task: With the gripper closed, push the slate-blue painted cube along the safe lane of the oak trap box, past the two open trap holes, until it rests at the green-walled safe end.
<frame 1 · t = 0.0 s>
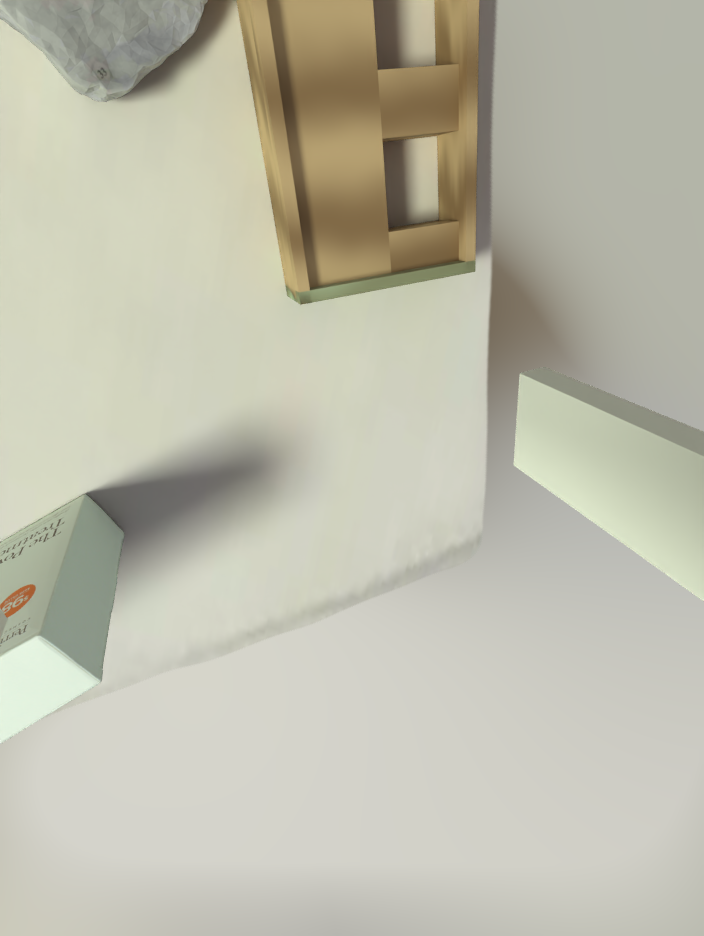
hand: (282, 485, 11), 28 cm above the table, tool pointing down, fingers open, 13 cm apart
trap box: (354, 90, 32), on the table
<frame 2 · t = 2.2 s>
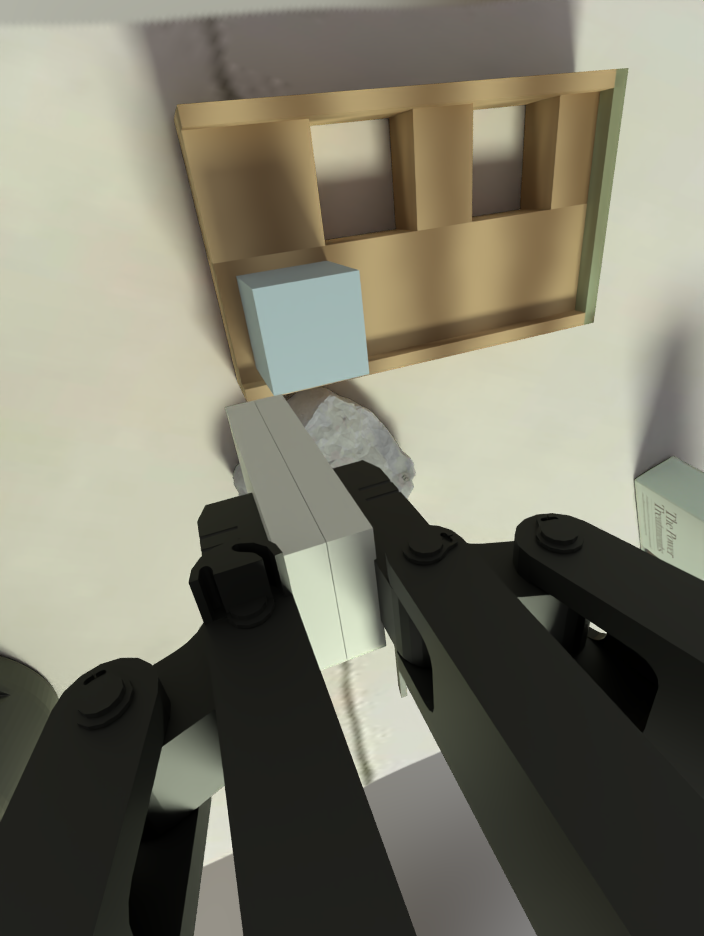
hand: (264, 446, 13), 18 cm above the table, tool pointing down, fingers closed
block: (290, 315, 27), point 3 cm above the table, touching trap box
skincare box: (653, 534, 55), on the table
stone block: (327, 460, 36), on the table
trap box: (403, 235, 30), on the table
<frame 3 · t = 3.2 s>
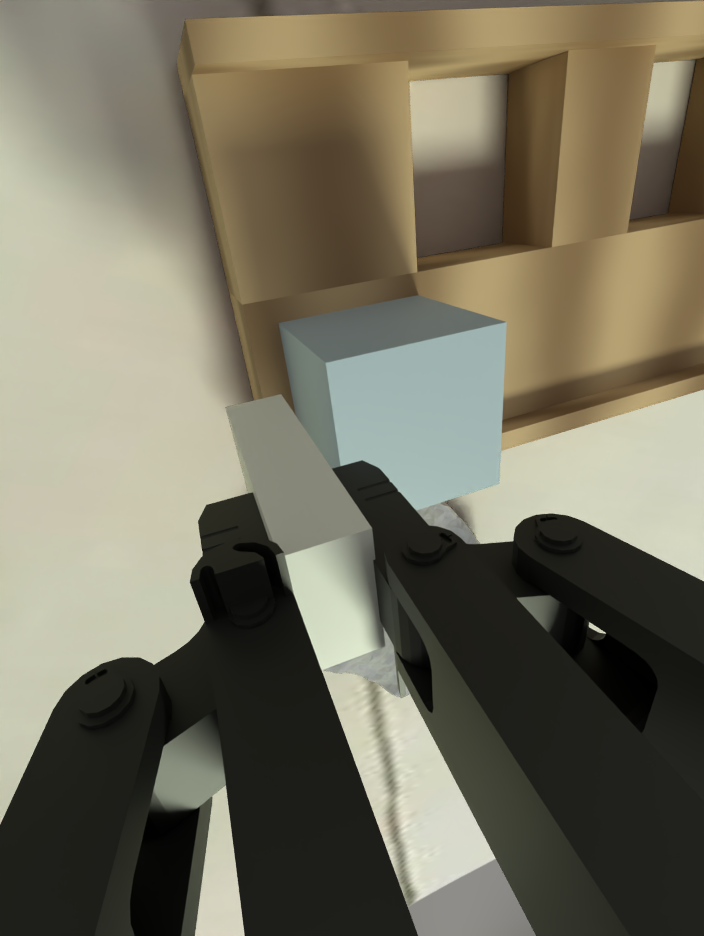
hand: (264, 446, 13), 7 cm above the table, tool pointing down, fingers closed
block: (358, 379, 17), point 3 cm above the table, touching trap box
stone block: (379, 562, 27), on the table
trap box: (511, 252, 21), on the table
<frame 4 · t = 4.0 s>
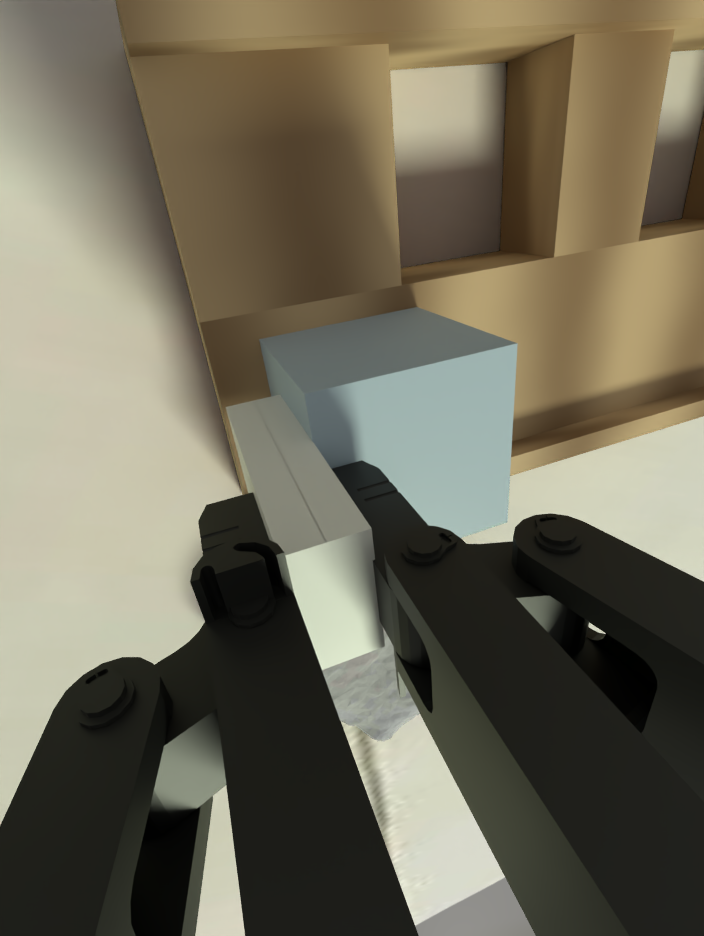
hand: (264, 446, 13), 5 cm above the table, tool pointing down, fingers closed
block: (351, 400, 16), point 3 cm above the table, touching gripper
stone block: (361, 596, 25), on the table
trap box: (510, 261, 19), on the table
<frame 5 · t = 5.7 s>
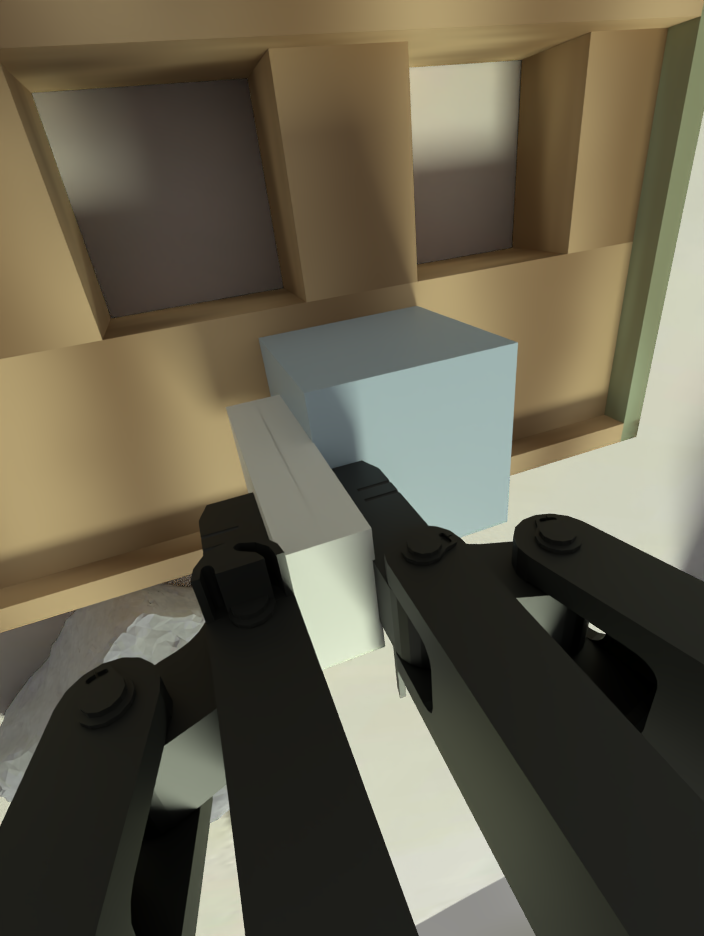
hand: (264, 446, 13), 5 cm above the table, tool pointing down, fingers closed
block: (350, 399, 16), point 3 cm above the table, touching gripper
stone block: (183, 666, 23), on the table
trap box: (299, 299, 17), on the table
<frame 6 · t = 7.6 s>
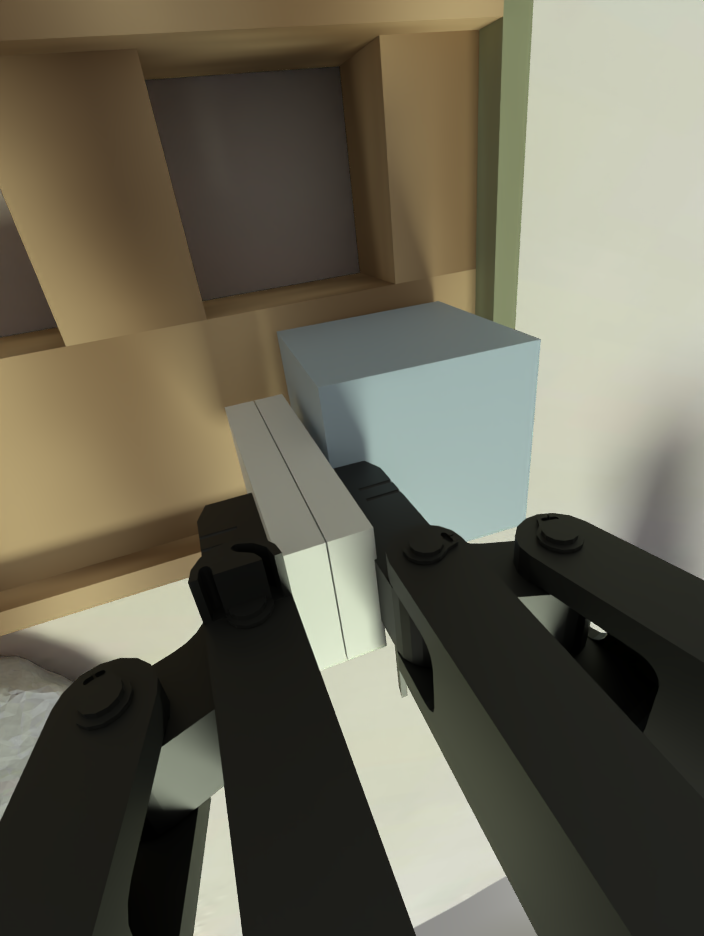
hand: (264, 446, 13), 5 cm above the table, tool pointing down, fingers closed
block: (368, 395, 15), point 3 cm above the table, touching gripper, trap box
stone block: (26, 733, 21), on the table
trap box: (104, 334, 15), on the table
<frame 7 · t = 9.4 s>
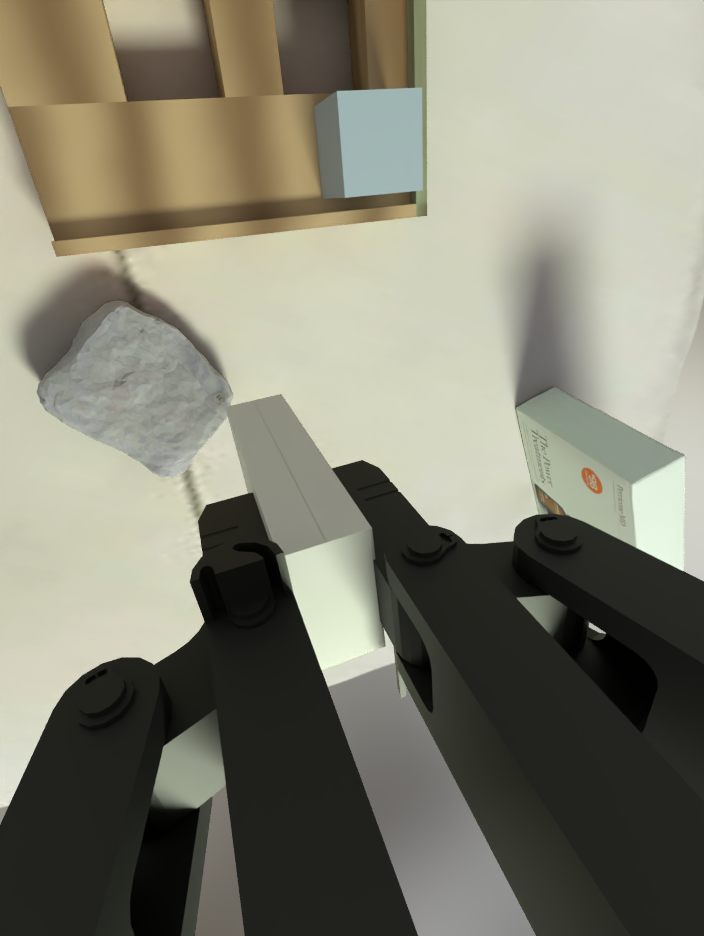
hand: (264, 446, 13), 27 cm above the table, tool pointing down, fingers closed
block: (354, 152, 32), point 3 cm above the table, touching trap box
skincare box: (545, 472, 56), on the table
stone block: (149, 381, 38), on the table
trap box: (230, 114, 31), on the table
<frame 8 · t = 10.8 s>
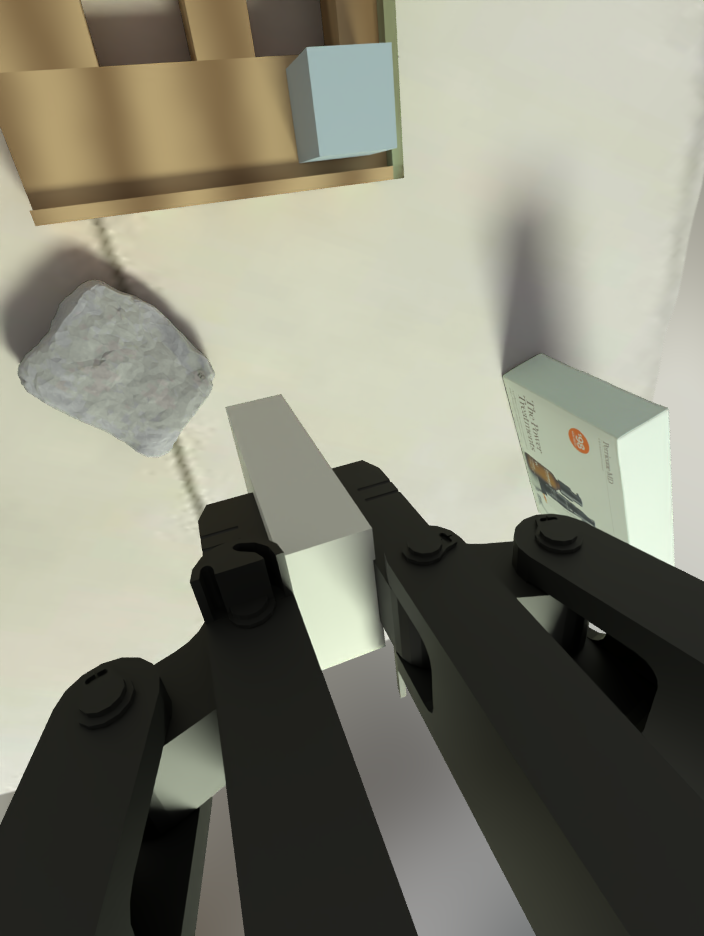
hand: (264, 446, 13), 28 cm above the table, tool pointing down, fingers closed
block: (329, 114, 32), point 3 cm above the table, touching trap box
skincare box: (535, 441, 56), on the table
stone block: (130, 362, 38), on the table
trap box: (203, 80, 32), on the table
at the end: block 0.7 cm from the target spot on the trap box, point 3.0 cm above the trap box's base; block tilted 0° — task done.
